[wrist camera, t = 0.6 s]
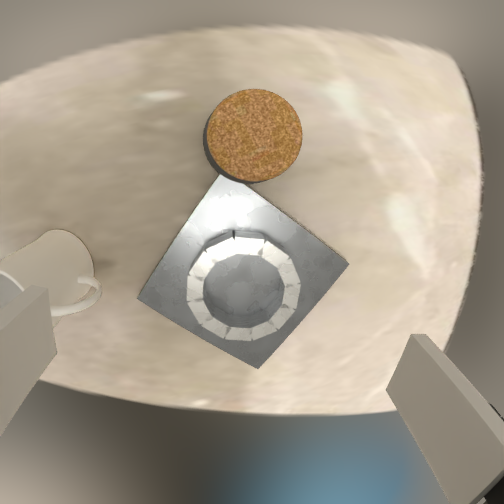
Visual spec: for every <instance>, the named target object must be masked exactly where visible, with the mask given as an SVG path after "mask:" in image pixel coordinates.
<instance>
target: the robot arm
mask: <svg viewBox="0 0 504 504" xmlns="http://www.w3.org/2000/svg"><path fill="white" fill-rule="evenodd" d="M56 354H57V349H56V344H55V338H54V332H53V325H52V318H51V310H50V302H49V292H48V288H45V287H40V286H36V285H32V284H31V285H30V286H29V287H28V288H26V289H25V290H24V291H23V292H21V293H20V294H19V295H17V296H16V297H15V298H14V299H13V300H11V301H10V302H9V303H8V304H6V305H5V306H4V307H3V308H2V309H0V437H1V435H2V433H3V432H4V430H5V429H6V427H7V425H8V424H9V422H10V421H11V419H12V417H13V416H14V414H15V413H16V411H17V410H18V408H19V407H20V405H21V404H22V402H23V401H24V399H25V398H26V396H27V395H28V393H29V392H30V390H31V389H32V387H33V386H34V384H35V383H36V382H37V380H38V379H39V377H40V376H41V375H42V373H43V372H44V370H45V369H46V368H47V366H48V365H49V363H50V362H51V361H52V359H53V358H54V357H55V355H56ZM386 391H387V393H388V395H389V396H390V398H391V400H392V401H393V403H394V405H395V406H396V408H397V410H398V412H399V413H400V415H401V417H402V418H403V420H404V422H405V423H406V425H407V427H408V429H409V430H410V432H411V434H412V435H413V437H414V439H415V441H416V443H417V444H418V446H419V448H420V450H421V452H422V453H423V455H424V457H425V459H426V461H427V463H428V464H429V466H430V468H431V470H432V472H433V473H434V475H435V477H436V479H437V481H438V483H439V485H440V486H441V488H442V490H443V492H444V494H445V496H446V497H447V500H448V502H449V503H450V504H476V503H478V502H479V501H480V500H481V499H482V498H483V497H485V499H486V502H485V503H484V504H504V419H503V418H502V417H500V414H499V413H498V412H497V410H496V409H495V408H494V407H493V406H492V405H491V404H489V403H488V402H487V401H486V400H485V399H484V398H483V397H482V395H481V394H480V393H479V392H478V391H477V390H476V389H475V387H474V386H473V385H472V384H471V383H470V382H469V381H468V380H467V378H466V377H465V376H464V375H463V374H462V373H461V372H460V371H459V370H458V368H457V367H456V366H455V365H454V364H453V363H452V362H451V361H450V359H448V357H447V356H446V355H445V354H444V353H443V352H442V351H441V350H440V349H439V348H438V347H437V346H436V344H435V343H434V342H433V341H432V340H431V339H430V338H429V337H428V336H427V335H426V334H411V335H410V338H409V340H408V342H407V345H406V347H405V349H404V352H403V354H402V356H401V359H400V361H399V363H398V365H397V367H396V370H395V372H394V374H393V376H392V378H391V380H390V382H389V384H388V386H387V388H386Z"/></svg>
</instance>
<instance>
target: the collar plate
mask: <svg viewBox="0 0 504 504" xmlns="http://www.w3.org/2000/svg"><path fill="white" fill-rule="evenodd" d="M348 265H349V263H348V262H347V261H346V260H345V259H343V258H342V257H341V256H339V255H338V254H337V253H336V252H334V251H333V250H332V249H331V248H329V247H328V246H327V245H325V244H324V243H323V242H321V241H320V240H319V239H318V238H316V237H315V236H314V235H312V234H311V233H310V232H308V231H307V230H306V229H305V228H303V227H302V226H301V225H299V224H298V223H297V222H295V221H294V220H293V219H291V218H290V217H289V216H287V215H286V214H285V213H283V212H282V211H281V210H279V209H278V208H276V207H275V206H274V205H272V204H271V203H270V202H268V201H267V200H266V199H264V198H263V197H262V196H260V195H259V194H257V193H256V192H255V191H253V190H252V189H250V188H249V187H248V186H246V185H245V184H243V183H237V182H234V181H232V180H229V179H227V178H225V177H224V176H222V175H221V174H220V175H219V176H218V178H217V179H216V180H215V182H214V183H213V185H212V186H211V187H210V189H209V190H208V192H207V193H206V194H205V196H204V197H203V199H202V200H201V202H200V203H199V204H198V206H197V207H196V209H195V210H194V212H193V213H192V215H191V216H190V217H189V219H188V220H187V222H186V223H185V225H184V226H183V228H182V229H181V231H180V232H179V234H178V235H177V237H176V238H175V240H174V241H173V243H172V244H171V246H170V247H169V249H168V250H167V252H166V253H165V255H164V256H163V258H162V259H161V261H160V263H159V264H158V266H157V267H156V269H155V270H154V272H153V274H152V275H151V277H150V278H149V280H148V281H147V283H146V285H145V286H144V288H143V290H142V291H141V293H140V294H139V296H138V298H137V299H138V300H140V301H141V302H143V303H145V304H146V305H148V306H149V307H151V308H152V309H154V310H156V311H157V312H159V313H160V314H162V315H164V316H165V317H167V318H168V319H170V320H172V321H173V322H175V323H177V324H178V325H180V326H182V327H183V328H185V329H187V330H188V331H190V332H192V333H193V334H195V335H197V336H199V337H200V338H202V339H204V340H205V341H207V342H209V343H211V344H212V345H214V346H216V347H218V348H220V349H221V350H223V351H225V352H227V353H229V354H231V355H232V356H234V357H236V358H238V359H240V360H242V361H244V362H245V363H247V364H249V365H251V366H253V367H255V368H257V369H259V368H260V366H261V365H262V364H263V363H264V362H265V361H266V360H267V359H268V358H269V357H270V356H271V355H272V354H273V352H274V351H275V350H276V349H277V348H278V347H279V346H280V345H281V344H282V343H283V342H284V340H285V339H286V338H287V337H288V336H289V335H290V334H291V333H292V331H293V330H294V329H295V328H296V327H297V326H298V325H299V324H300V322H301V321H302V320H303V319H304V318H305V317H306V315H307V314H308V313H309V312H310V311H311V310H312V309H313V307H314V306H315V305H316V304H317V303H318V301H319V300H320V299H321V298H322V297H323V296H324V294H325V293H326V292H327V291H328V290H329V288H330V287H331V286H332V285H333V284H334V282H335V281H336V280H337V279H338V277H339V276H340V275H341V274H342V272H343V271H344V270H345V269H346V267H347V266H348Z"/></svg>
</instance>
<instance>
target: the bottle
mask: <svg viewBox="0 0 504 504" xmlns="http://www.w3.org/2000/svg"><path fill="white" fill-rule="evenodd" d="M301 144H302V127H301V123H300V120H299V117H298V115H297V114H296V112H295V110H294V109H293V107H292V106H291V105H290V104H289V103H288V102H287V101H286V100H285V99H283V98H282V97H280V96H279V95H277V94H275V93H272V92H269V91H266V90H260V89H248V90H242V91H239V92H237V93H234V94H232V95H230V96H228V97H227V98H226V99H224V100H223V101H222V102H221V103H220V104H219V105H218V106H217V107H216V109H215V110H214V111H213V113H212V114H211V115H210V117H209V118H208V120H207V123H206V125H205V128H204V134H203V145H204V150H205V154H206V156H207V159H208V161H209V162H210V164H211V165H212V166H213V168H214V169H215V170H216V171H217V172H218V173H220V174H221V175H222V176H224V177H225V178H227V179H229V180H232V181H234V182H237V183H243V184H254V183H260V182H263V181H266V180H269V179H272V178H274V177H276V176H278V175H280V174H282V173H283V172H284V171H286V170H287V169H288V168H289V167H290V166H291V165H292V164H293V162H294V161H295V160H296V158H297V156H298V154H299V151H300V148H301Z"/></svg>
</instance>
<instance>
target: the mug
mask: <svg viewBox="0 0 504 504" xmlns="http://www.w3.org/2000/svg"><path fill="white" fill-rule="evenodd" d="M31 284H32V285H36V286H40V287H45V288H48V292H49V302H50V310H51V318H52V325H53V328H54V327H55V325H56V324H57V323H58V322H59V321H60V320H61V318H62V317H63V316H64V315H69V314H73V313H77V312H80V311H82V310H85V309H87V308H89V307H90V306H92V305H93V304H95V303H96V302H97V301H98V300H99V298H100V296H101V294H102V286H101V284H100V282H99V281H98V280H97V279H96V278H94V267H93V262H92V258H91V256H90V253H89V251H88V250H87V248H86V246H85V245H84V244H83V243H82V241H81V240H80V239H79V238H77V237H76V236H75V235H73V234H72V233H70V232H67V231H65V230H58V229H57V230H50V231H48V232H46V233H44V234H43V235H42V236H40V237H39V239H37V240H36V241H34V242H32V243H30V244H28V245H27V246H25V247H23V248H21V249H20V250H18V251H16V252H14V253H13V254H11V255H9V256H8V257H6V258H4V259H2V260H1V261H0V309H2V308H3V307H4V306H5V305H6V304H8V303H9V302H10V301H11V300H13V299H14V298H15V297H16V296H17V295H19V294H20V293H21V292H23V291H24V290H25V289H26V288H28V287H29V286H30V285H31ZM91 286H93V287H95V288H96V292H95V293H94V294H93V295H91V296H90V297H88V298H87V299H85V300H82V301H80V302H77V300H78V299H80V298H82V297H83V296H85V295H86V294H87V292H88V291H89V290H90V288H91ZM76 302H77V303H76Z"/></svg>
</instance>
